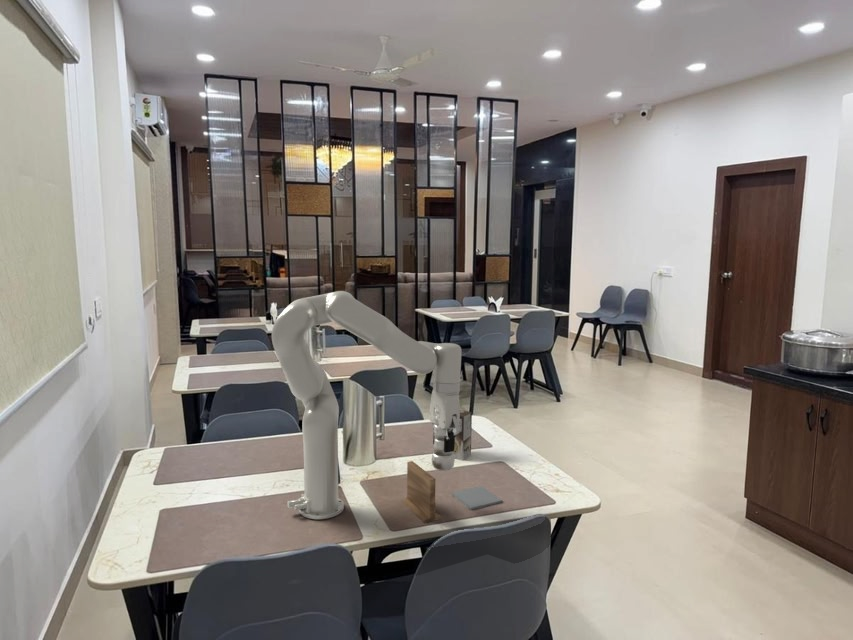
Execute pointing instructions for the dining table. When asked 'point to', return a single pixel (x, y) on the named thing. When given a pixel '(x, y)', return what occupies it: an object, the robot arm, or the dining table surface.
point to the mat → (476, 497)
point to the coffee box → (463, 436)
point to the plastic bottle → (441, 449)
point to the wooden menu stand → (420, 493)
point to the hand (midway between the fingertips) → (443, 447)
